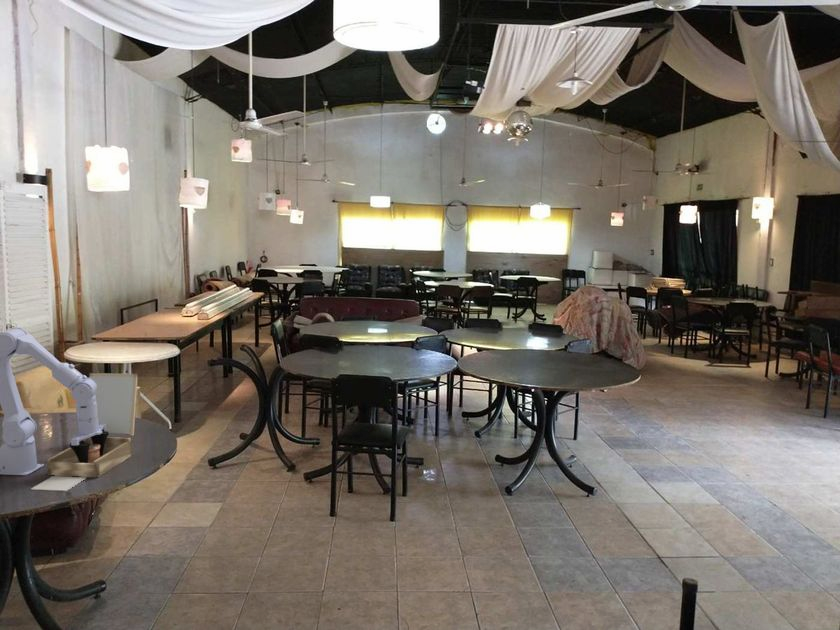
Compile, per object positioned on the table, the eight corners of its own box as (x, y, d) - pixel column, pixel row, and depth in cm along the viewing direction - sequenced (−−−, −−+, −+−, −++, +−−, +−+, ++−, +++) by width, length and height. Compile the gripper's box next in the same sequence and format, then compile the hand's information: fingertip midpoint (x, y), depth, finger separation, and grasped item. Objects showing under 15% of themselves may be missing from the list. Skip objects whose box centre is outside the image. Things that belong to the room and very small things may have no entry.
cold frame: (48, 475, 192) (46, 456, 191) (86, 453, 209) (85, 436, 208) (98, 477, 190) (96, 458, 189) (132, 455, 207) (130, 437, 206)
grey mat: (30, 489, 181) (30, 488, 181) (52, 477, 190) (52, 476, 190) (66, 491, 180) (66, 490, 180) (86, 478, 189) (86, 477, 189)
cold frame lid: (89, 373, 211) (91, 373, 212) (85, 433, 209) (86, 433, 210) (136, 373, 209) (137, 373, 210) (132, 435, 207) (133, 435, 208)
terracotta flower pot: (78, 468, 197) (76, 449, 196) (89, 461, 202) (87, 443, 201) (94, 468, 196) (92, 450, 195) (105, 462, 202) (103, 443, 201)
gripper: (84, 425, 189) (88, 468, 191) (113, 411, 204) (117, 451, 206) (62, 425, 190) (67, 468, 192) (93, 410, 204) (96, 450, 207)
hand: (91, 459), depth 199 cm, fingers open, 7 cm apart
